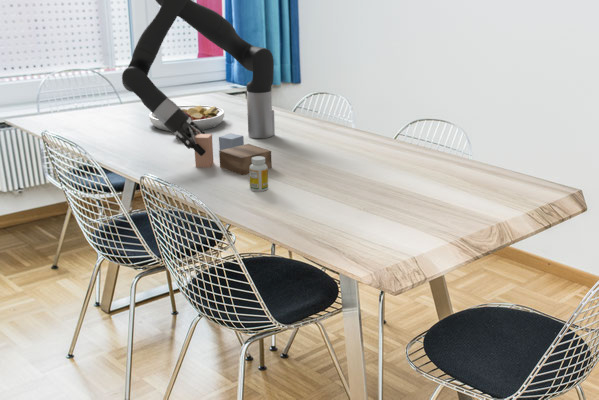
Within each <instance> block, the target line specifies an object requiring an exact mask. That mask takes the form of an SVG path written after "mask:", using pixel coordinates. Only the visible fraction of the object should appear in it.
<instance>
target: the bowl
mask: <svg viewBox="0 0 599 400" xmlns="http://www.w3.org/2000/svg"><path fill="white" fill-rule="evenodd" d="M177 106H178V107H179V108H180V109H181V110H182V111H183V112H184V113H185V114H186V115H187V116H188V117H190V118H191V120H192V121H193V122H194V123H195V124H196V125H197V126H198V127H199V128H200V129H201V130H203V131H205V130H208V129H212V128H214V127H217V126H218V125H220V124H221V123H222V122H223V120H224V118H225V111H224V109H222V108H220V107H217V106H212V105H205V104H204V105H201V104H195V105H194V104H190V105H189V104H188V105H186V104H185V105H184V104H183V105H177ZM148 116H149V120H150V123H151V125H153V126H154V127H155V128H157V129H158V130H163V131H167V132H171V131H170V130H169V129H168V128H167V127H166V126H165V125H164V124H163V123H161V122H160V121H159V120H158V119H157V117H156V116H155V115H154V114H153V113H152V112H151V111H150V113H149V115H148Z"/></svg>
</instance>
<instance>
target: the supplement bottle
mask: <svg viewBox="0 0 599 400" xmlns="http://www.w3.org/2000/svg"><path fill="white" fill-rule="evenodd" d="M252 163H253V164H251V165H250V168H249V169H250V174H249V189H250V190H251V191H252V192H258V193H259V192H265V191H267V190H268V189H269V180H268V179H269V175H268V172H269V171H268V167H267V165H266V164H264V163H265V157H262V156H256V157H252Z"/></svg>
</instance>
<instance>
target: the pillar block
mask: <svg viewBox="0 0 599 400" xmlns="http://www.w3.org/2000/svg"><path fill="white" fill-rule="evenodd" d="M195 140H196V142H197V144H199V145H200V146H201V147H202V148H203V149H204V150H205V151H206V152H205V153H204V154H203V155H202V156H200V155H199V154H198V153H197V152H196V151H195V150H194V158H195V159H194V161H195V168H211V167H212V165H214V148H213V145H214V144H213V134H212V133H205V134H197V135H196V136H195Z"/></svg>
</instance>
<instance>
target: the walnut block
mask: <svg viewBox="0 0 599 400" xmlns="http://www.w3.org/2000/svg"><path fill="white" fill-rule="evenodd" d="M218 155H219V157H218V158H219V168H221V169H223V170H227V171H229V172H232V173H234V174H237V175H239V176H245V175H248V174H249V175H250V169H249V168H250V165H251V164H253V163H252V157H256V156H262V157H265V163H264V164H266V165H267V167H268V169H272V165H273V164H272V150H270V149H267V148H264V147H261V146H257V145H255V144H250V143H247V144H244V145H241V146H237V147H232V148H228V149H223V150H220V149H219V150H218Z"/></svg>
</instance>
